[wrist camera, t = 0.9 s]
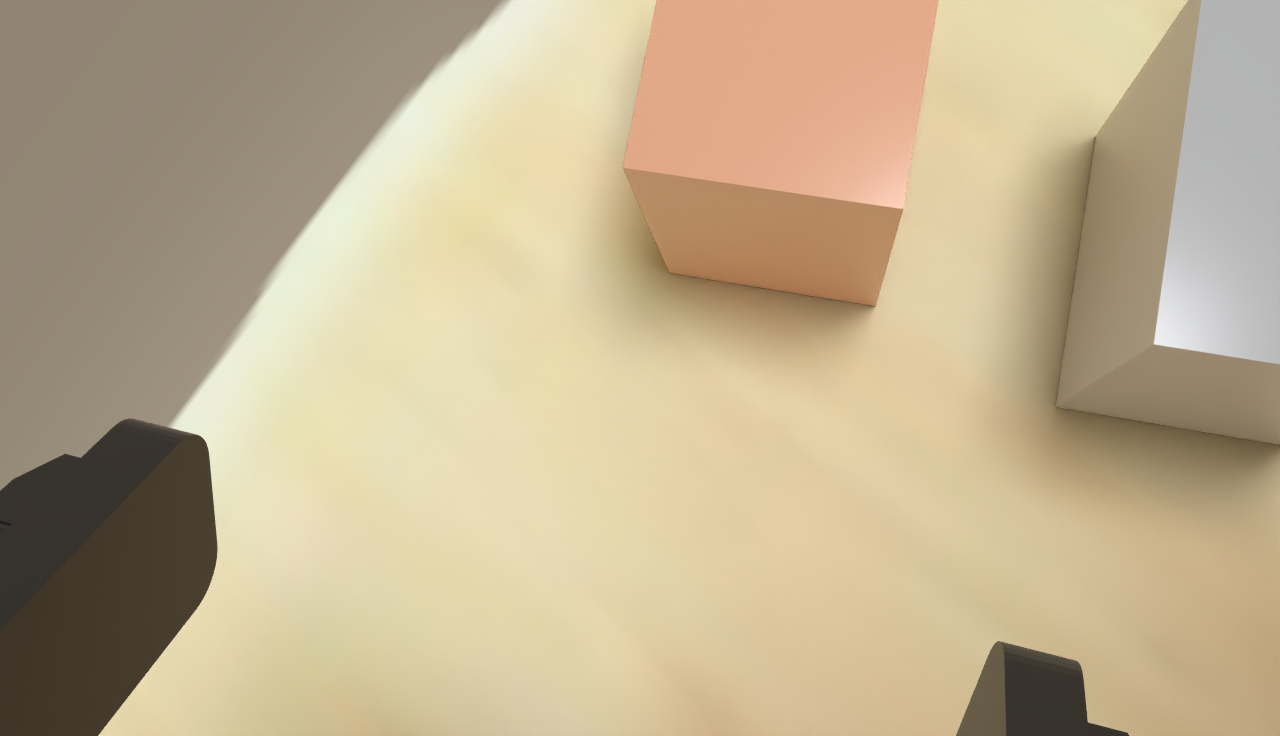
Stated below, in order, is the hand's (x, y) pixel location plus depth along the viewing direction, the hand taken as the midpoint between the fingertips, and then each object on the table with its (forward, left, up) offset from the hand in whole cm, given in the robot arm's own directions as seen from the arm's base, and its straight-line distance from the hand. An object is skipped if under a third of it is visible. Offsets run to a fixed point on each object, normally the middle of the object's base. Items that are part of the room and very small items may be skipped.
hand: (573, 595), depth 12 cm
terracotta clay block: (-9, -9, -25) cm, 28 cm away
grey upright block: (-16, +1, -25) cm, 30 cm away
